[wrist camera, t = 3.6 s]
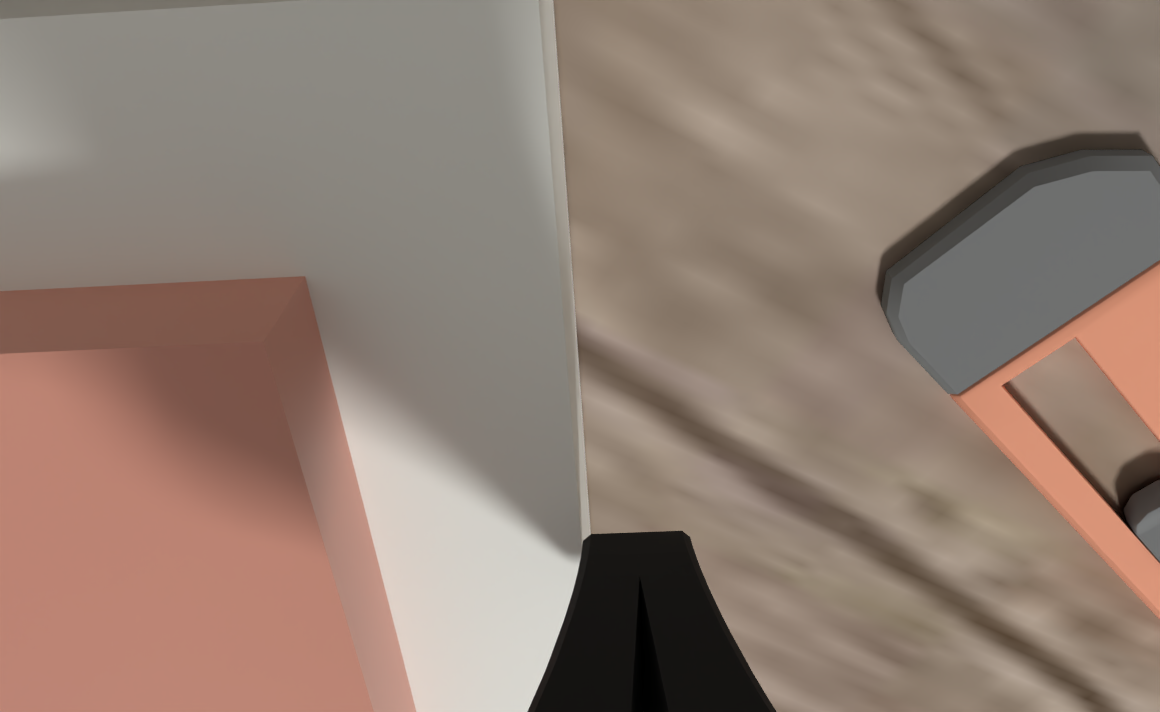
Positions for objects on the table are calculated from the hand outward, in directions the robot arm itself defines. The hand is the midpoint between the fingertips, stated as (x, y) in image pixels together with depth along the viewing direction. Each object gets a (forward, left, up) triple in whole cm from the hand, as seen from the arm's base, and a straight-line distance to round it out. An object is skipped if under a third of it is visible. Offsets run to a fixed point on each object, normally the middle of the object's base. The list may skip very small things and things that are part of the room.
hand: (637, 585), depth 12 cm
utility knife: (+11, -3, -4) cm, 12 cm away
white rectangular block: (-6, 0, -4) cm, 7 cm away
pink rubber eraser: (-7, 0, -1) cm, 7 cm away
